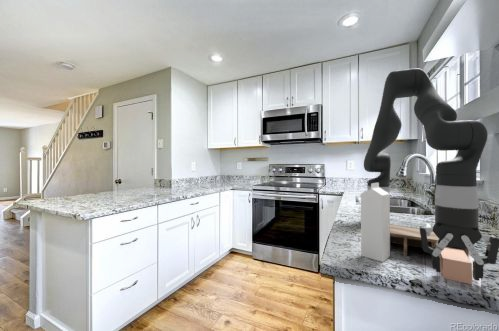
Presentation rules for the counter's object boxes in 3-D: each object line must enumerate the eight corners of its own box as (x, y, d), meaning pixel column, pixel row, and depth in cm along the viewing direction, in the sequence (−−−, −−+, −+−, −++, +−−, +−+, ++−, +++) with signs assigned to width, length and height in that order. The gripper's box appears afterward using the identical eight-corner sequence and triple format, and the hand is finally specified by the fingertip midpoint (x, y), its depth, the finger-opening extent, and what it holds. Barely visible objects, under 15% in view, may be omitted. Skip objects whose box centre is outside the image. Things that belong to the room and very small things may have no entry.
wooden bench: (382, 240, 79) (382, 223, 79) (460, 253, 67) (460, 233, 67) (378, 250, 70) (378, 231, 70) (468, 268, 57) (468, 244, 57)
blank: (438, 263, 61) (438, 245, 61) (463, 268, 58) (463, 249, 58) (442, 278, 53) (442, 257, 53) (471, 285, 50) (471, 263, 50)
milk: (361, 256, 66) (359, 183, 66) (369, 250, 70) (367, 181, 70) (383, 262, 61) (382, 184, 61) (390, 256, 65) (389, 182, 65)
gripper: (495, 205, 51) (495, 277, 51) (417, 199, 59) (417, 261, 59) (506, 210, 45) (507, 292, 44) (417, 203, 53) (418, 272, 53)
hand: (456, 274), depth 52 cm, fingers open, 6 cm apart
